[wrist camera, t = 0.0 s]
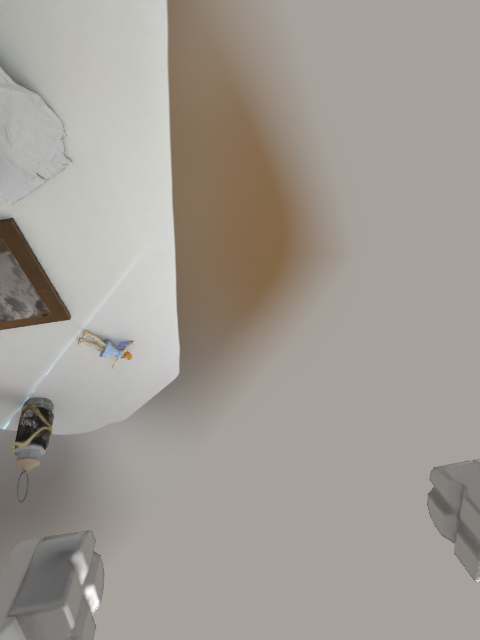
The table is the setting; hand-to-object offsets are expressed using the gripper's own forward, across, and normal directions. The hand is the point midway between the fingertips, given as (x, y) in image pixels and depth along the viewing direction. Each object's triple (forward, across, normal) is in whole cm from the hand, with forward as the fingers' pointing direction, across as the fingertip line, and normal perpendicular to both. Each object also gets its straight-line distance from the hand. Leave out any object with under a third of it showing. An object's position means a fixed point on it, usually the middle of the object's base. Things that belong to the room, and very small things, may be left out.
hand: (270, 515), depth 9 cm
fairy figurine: (+76, +24, +25) cm, 84 cm away
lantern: (+87, +48, +45) cm, 109 cm away
